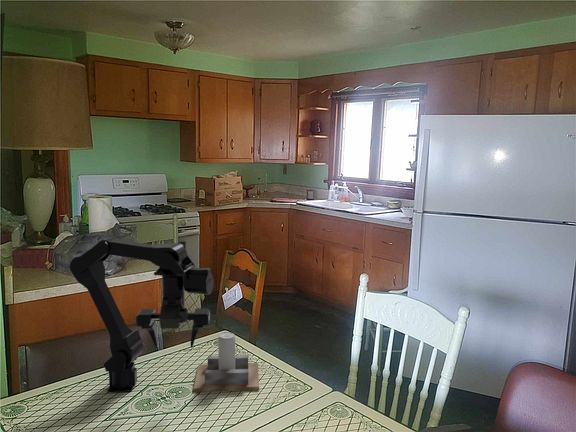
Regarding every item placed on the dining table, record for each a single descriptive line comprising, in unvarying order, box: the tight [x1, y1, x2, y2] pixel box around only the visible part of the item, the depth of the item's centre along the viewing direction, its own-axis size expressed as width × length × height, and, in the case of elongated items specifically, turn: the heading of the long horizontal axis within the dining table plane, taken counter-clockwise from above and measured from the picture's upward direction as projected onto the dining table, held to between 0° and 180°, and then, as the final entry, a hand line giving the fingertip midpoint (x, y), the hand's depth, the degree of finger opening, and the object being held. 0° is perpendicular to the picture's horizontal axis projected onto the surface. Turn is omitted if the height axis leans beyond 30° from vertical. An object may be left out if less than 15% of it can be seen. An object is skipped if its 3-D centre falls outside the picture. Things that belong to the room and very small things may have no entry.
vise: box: [193, 354, 260, 393], centre depth 136 cm, size 18×15×4 cm
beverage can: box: [217, 331, 236, 370], centre depth 135 cm, size 5×5×12 cm
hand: (174, 347), depth 125 cm, fingers open, 9 cm apart
